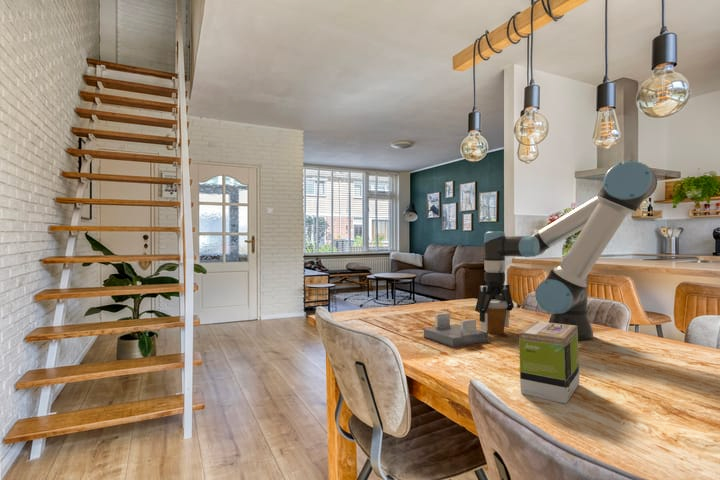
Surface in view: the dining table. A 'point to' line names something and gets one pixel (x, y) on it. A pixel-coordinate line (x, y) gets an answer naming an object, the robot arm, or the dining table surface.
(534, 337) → the tea box
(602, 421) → the dining table surface
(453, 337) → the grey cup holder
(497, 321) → the disposable coffee cup
